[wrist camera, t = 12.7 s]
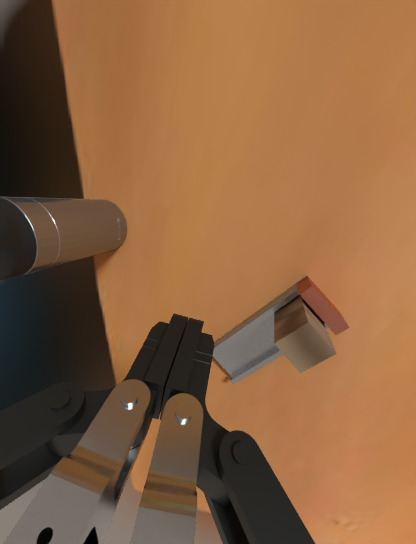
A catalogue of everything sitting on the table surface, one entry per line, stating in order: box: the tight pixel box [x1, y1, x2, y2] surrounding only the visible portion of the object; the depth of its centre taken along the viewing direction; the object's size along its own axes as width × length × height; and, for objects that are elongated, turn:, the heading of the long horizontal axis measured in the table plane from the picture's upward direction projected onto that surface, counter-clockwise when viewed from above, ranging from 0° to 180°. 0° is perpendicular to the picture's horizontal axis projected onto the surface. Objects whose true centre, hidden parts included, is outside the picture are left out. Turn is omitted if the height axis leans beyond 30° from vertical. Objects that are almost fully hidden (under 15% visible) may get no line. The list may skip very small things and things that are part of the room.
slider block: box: [274, 295, 336, 373], centre depth 32 cm, size 5×5×9 cm
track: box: [213, 276, 349, 384], centre depth 38 cm, size 22×8×5 cm, turn 134°
